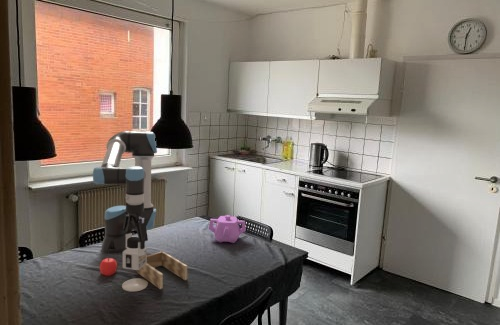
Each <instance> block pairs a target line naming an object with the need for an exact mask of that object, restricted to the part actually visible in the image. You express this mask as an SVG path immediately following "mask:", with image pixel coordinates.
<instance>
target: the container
mask: <svg viewBox="0 0 500 325" xmlns="http://www.w3.org/2000/svg"><path fill="white" fill-rule="evenodd" d="M138 241H139V238H138V235H137V236H134V235H132V237H130V238H128V239H127V249H126V250H124V251H123V253H122V268H123V269H126V270H132V271H134V270H135V271H137V270H139V269H141V268H142V267H143V266H144V265H145V264H146V263H147V254H148V249H147V247H146V246H145V255H142V256H138Z"/></svg>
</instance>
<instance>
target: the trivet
mask: <svg viewBox="0 0 500 325" xmlns="http://www.w3.org/2000/svg"><path fill="white" fill-rule="evenodd" d="M148 284H149V281H148V280H147V279H145V278H139V277H138V278H131V279H128V280H125V281H124V282H123V283H122V284H121V288H122V290H123V291H125V292H131V293H134V292H139V291H140V292H141V291H142V290H145V289H146V288H147V287H148V286H149V285H148Z"/></svg>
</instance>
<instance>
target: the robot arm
mask: <svg viewBox="0 0 500 325" xmlns="http://www.w3.org/2000/svg"><path fill="white" fill-rule="evenodd" d="M155 138H156V134H155V133H154V132H153V131H146V130H145V131H141V130H140V131H139V130H137V131H135V130H123V131H120V132H118V133H116V134H114V135H112V137H110V138H108V139H109V140H108V141H107V143H106V152H105V153H104V154H105V156H104V158H103V161H102V163H101V165H100V166H97V167H94V168H93V171H92V181H93V183H94V184H95V185H125V197H124V198H125V202H126V203H125V205H114V206H112V207H111V206H110V207H109V208H107V209H106V210H105V211H104V238H103V241H102V244H101V251H102V253H105V254H110V255H111V254H112V255H115V254H116V255H117V254H118V255H119V254H123V251H124V250H126V249H127V239H128V238H130V237H133V231H136V234H137V236H138V238H139V241H138V256H142V255H145V247H146V244H145V243H146V242H147V241H149V238H148V232H147V231H150V230H153V229H154V227H155V220H156V213H157V208H154V204H153V203H152V160H153V158H154V157H155V154H157V153H158V148H156V146H157V140H156V141H155ZM125 153H131V155H132V157H133V159H134V166H129V167H120V164H121V160H122V158H123V155H124V154H125Z"/></svg>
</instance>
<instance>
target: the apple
mask: <svg viewBox="0 0 500 325" xmlns="http://www.w3.org/2000/svg"><path fill="white" fill-rule="evenodd" d="M117 268H118V262H117V260H116V259H114V257H113V258H112V257H111V258H110V257H107V258H104V259H103V260H102V261H101V262H100V263H99V271H100V274H102V275H103V276H107V277H109V276H113V275H114V274H115V273H116V272H117Z"/></svg>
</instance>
